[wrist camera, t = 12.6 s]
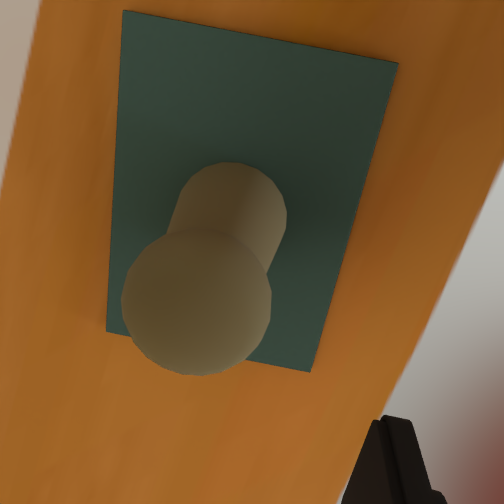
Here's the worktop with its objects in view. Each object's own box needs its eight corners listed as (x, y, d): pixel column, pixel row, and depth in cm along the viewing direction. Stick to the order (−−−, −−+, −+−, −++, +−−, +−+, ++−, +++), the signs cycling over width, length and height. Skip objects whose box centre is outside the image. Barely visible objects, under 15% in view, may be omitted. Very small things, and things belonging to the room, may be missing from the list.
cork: (280, 155, 23) (271, 229, 13) (292, 263, 25) (292, 400, 15) (165, 168, 23) (69, 249, 13) (187, 272, 26) (119, 408, 16)
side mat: (396, 63, 21) (399, 63, 21) (309, 367, 28) (310, 372, 28) (126, 10, 21) (122, 9, 21) (108, 327, 28) (105, 331, 28)
